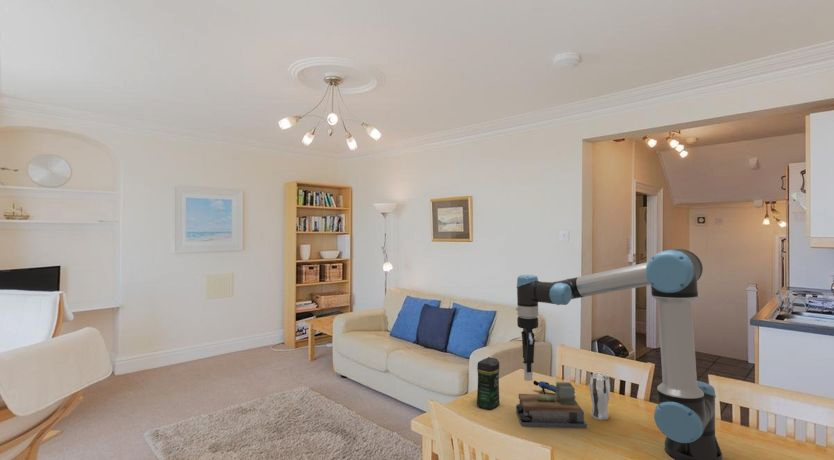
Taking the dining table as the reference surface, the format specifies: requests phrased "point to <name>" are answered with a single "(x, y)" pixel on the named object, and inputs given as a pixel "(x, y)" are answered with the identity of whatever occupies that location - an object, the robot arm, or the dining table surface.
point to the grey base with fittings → (550, 418)
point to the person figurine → (545, 386)
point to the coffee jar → (488, 383)
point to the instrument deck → (546, 405)
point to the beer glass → (600, 396)
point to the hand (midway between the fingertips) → (528, 379)
